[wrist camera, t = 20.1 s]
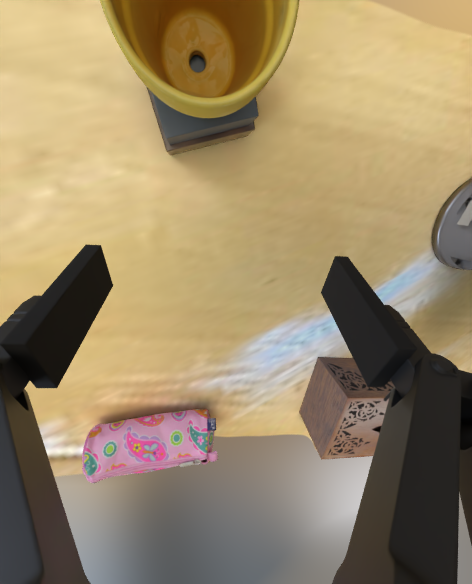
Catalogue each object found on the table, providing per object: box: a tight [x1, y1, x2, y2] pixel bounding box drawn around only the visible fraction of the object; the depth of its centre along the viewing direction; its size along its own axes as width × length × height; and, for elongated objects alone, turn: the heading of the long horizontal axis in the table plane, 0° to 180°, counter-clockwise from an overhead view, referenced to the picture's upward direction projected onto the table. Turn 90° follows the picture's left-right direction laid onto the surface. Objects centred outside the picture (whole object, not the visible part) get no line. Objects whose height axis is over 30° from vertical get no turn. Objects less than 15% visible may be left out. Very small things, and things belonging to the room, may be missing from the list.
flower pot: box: [100, 0, 299, 118], centre depth 17 cm, size 10×10×10 cm
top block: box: [152, 55, 258, 145], centre depth 23 cm, size 9×9×4 cm
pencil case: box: [82, 409, 218, 483], centre depth 43 cm, size 21×9×9 cm, turn 89°
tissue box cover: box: [299, 357, 395, 459], centre depth 48 cm, size 26×14×10 cm, turn 81°
